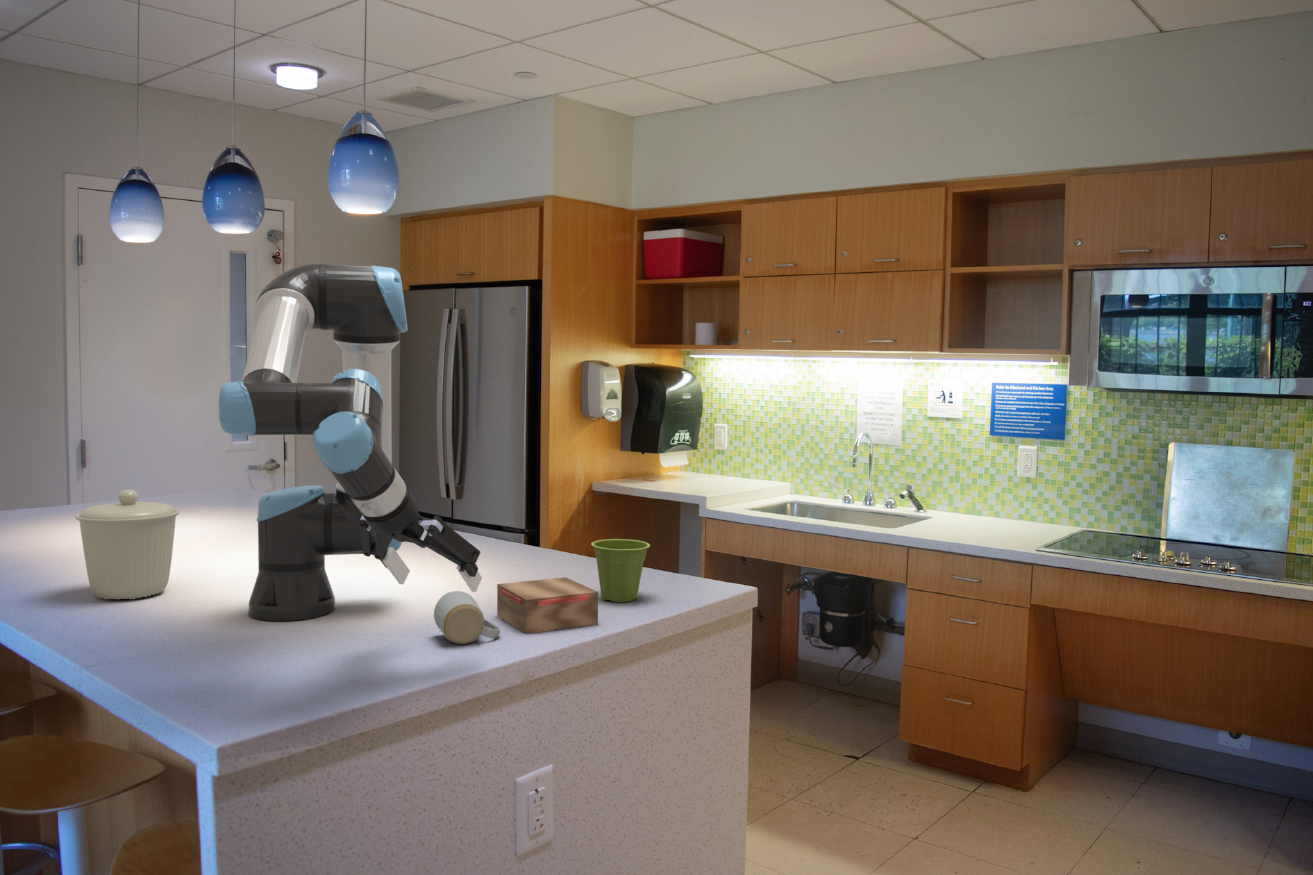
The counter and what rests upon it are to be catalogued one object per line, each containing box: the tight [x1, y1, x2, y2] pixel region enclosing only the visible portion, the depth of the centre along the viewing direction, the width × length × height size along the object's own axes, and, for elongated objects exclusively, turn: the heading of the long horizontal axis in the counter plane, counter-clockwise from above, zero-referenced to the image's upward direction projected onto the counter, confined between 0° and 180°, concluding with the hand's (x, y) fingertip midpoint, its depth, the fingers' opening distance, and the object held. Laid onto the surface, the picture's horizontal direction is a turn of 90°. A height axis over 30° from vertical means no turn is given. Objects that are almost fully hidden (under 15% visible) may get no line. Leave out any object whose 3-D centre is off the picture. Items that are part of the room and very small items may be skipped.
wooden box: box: [496, 576, 599, 635], centre depth 178 cm, size 14×14×6 cm
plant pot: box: [590, 538, 651, 603], centre depth 196 cm, size 12×12×11 cm
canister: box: [75, 489, 180, 600], centre depth 192 cm, size 18×18×21 cm
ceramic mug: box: [433, 590, 501, 645], centre depth 165 cm, size 11×8×8 cm
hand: (440, 581), depth 157 cm, fingers open, 13 cm apart
